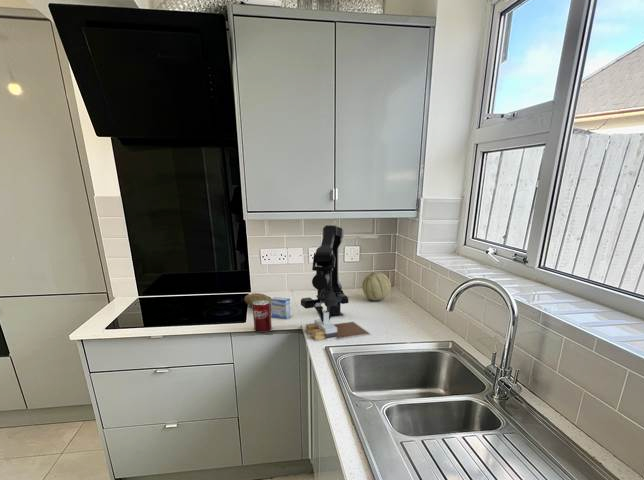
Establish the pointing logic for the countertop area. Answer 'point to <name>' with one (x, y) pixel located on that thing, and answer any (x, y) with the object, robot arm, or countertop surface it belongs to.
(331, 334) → the brush
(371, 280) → the cantaloupe
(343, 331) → the spill patch
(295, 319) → the countertop surface
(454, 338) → the countertop surface
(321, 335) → the crumb
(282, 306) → the medicine box
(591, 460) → the countertop surface
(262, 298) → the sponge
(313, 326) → the crumb
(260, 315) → the soda can
